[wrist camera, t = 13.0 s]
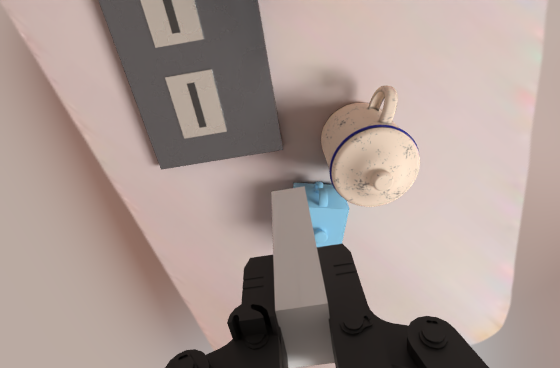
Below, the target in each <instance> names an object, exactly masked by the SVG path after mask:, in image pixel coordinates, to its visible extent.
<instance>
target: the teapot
mask: <svg viewBox="0 0 560 368" xmlns="http://www.w3.org/2000/svg"><path fill="white" fill-rule="evenodd" d="M304 186H305V191H306V196H307V201H308V206H309V211H310V216H311V221H312V226H313V231H314V236H315V241H316V246H317V247H322V246H329V245H336V244H342V240H343V236H344V231H345V226H346V221H347V216H348V212H349V206H348V204H347V201H346V200H345V199H344V198H343V197H341V196H340V195H339V194H338V193H337V191H336V190H335V189H334V187H333V185H328V184H323V183H322V182H316V183H315V184H309V183H294V184H293V188H297V187H304Z"/></svg>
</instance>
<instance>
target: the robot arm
mask: <svg viewBox="0 0 560 368" xmlns="http://www.w3.org/2000/svg"><path fill="white" fill-rule="evenodd" d="M271 200H272V231H273V255H268V256H261V257H254V258H250V259H249V261H248V263H247V264H246V266H245V268H244V277H243V280H244V282H243V291H242V304H241V305H240V306H238V307H237V308H235V309H234V311H233V312H232V313H231V314H230V316H229V319H228V322H227V324H228V326H229V329H230V332H231V335H232V338H233V339H232V340H231V341H230V342H229V343H228V344H227V345H225V346H223V347H222V348H220V349H218V350H216V351H213V352H211V353H209V354H207V355H205V354H204V353H203V352H201V351H198V350H186V351H184V352H182V353H179V354H178V355H176V356H175V357H174V358H173V359H171V360H170V361H169V363H168V364H167V366H166V367H165V368H288V366H289V368H298V367H305V366H313V365H320V364H328V363H335V365H336V368H489V367H488V366H487V365H486V364H485V363H484V362H483V361H482V359H481V358H480V357H479V356H478V355H477V353H476V352H475V351H474V350H473V349H472V348H471V347H470V345H469V344H468V343H467V342H466V341H465V340H464V339H463V337H462V336H461V335H460V334H459V333H458V332H457V331H456V329H455V328H453V327H452V326H451V325H450V324H449V323H448V322H446V321H444V320H442V319H439V318H437V317H430V316H424V317H418V318H417V319H415V320H413V321H412V322H411V323H410V325H409V326H407V325H400V324H394V323H390V322H386V321H384V320H382V319H380V318H378V317H377V316H376V315H374V314H373V312H372V311H371V310H370V308H369V306H368V304H367V301H366V298H365V295H364V292H363V289H362V286H361V283H360V279H359V276H358V273H357V270H356V267H355V264H354V261H353V258H352V255H351V252H350V251H349V250H348V249H347V248H346V247H345V246H344V245H343V244H336V245H329V246H322V247H317V246H316V241H315V236H314V231H313V226H312V221H311V216H310V211H309V206H308V201H307V196H306V191H305V186H304V187H297V188H291V189H285V190H278V191H272V192H271Z"/></svg>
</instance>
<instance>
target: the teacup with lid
mask: <svg viewBox="0 0 560 368" xmlns="http://www.w3.org/2000/svg"><path fill="white" fill-rule="evenodd" d="M384 98H385V101H384V106H383V110H381V109H380V106H381V104H382V102H383V100H384ZM397 100H398V96H397V92H396V90H395V89H394V88H393V87H391V86H381V87H380V88H378V89H377V90H376V92H375V93H374V95H373V96H372V98H371V101H370V103H369V104H368V103H353V104H349V105H346V106H344V107H342V108H340V109H339V110H337V111H336V112H335V113H333V114H332V115H331V116H330V118H329V119H328V120H327V122H326V124H325V125H324V128H323V130H322V135H321V146H322V150H323V153H324V155H325V158H326V161H327V164H328V167H329V170H330V179H331V182H332V185H333V187H334V189H335V190H336V191H337V193H338V194H339V195H340V196H341V197H343V198H344V199H345V200H347V201H349V202H350V203H353V204H355V205H359V206H365V207H375V206H381V205H384V204H387V203H390V202H392V201H394V200H396V199H398V198H399V197H401V196H402V195H403V194H404V193H405V192H406V191H407V190H408V189H409V188H410V187H411V186H412V184H413V183H414V181H415V179H416V177H417V174H418V171H419V167H420V155H419V150H418V147H417V145H416V143H415V141H414V140H413V138H412V137H411V136H410V135H409V134H408V133H406V132H405V131H403V130H402V129H400V128H399V127H398V126H397V125H396V124H395V123H394V122H393V121H392V119H393V117H394V114H395V111H396V107H397Z"/></svg>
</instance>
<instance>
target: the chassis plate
mask: <svg viewBox="0 0 560 368" xmlns="http://www.w3.org/2000/svg"><path fill="white" fill-rule="evenodd" d="M99 3H100V6H101V8H102V11H103V14H104V16H105V19H106V22H107V25H108V27H109V30H110V33H111V35H112V38H113V41H114V43H115V46H116V49H117V52H118V54H119V57H120V60H121V62H122V65H123V68H124V70H125V73H126V76H127V79H128V81H129V84H130V87H131V89H132V92H133V95H134V97H135V100H136V103H137V106H138V108H139V111H140V114H141V116H142V119H143V122H144V124H145V127H146V130H147V133H148V135H149V138H150V141H151V143H152V146H153V149H154V151H155V154H156V157H157V160H158V162H159V165H160V168H161V169H167V168H173V167H180V166H186V165H192V164H198V163H204V162H210V161H216V160H223V159H229V158H235V157H241V156H247V155H253V154H260V153H266V152H272V151H278V150H283V146H282V140H281V134H280V128H279V122H278V116H277V110H276V104H275V98H274V92H273V87H272V81H271V75H270V69H269V63H268V57H267V51H266V45H265V39H264V33H263V28H262V22H261V16H260V10H259V4H258V0H99Z"/></svg>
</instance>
